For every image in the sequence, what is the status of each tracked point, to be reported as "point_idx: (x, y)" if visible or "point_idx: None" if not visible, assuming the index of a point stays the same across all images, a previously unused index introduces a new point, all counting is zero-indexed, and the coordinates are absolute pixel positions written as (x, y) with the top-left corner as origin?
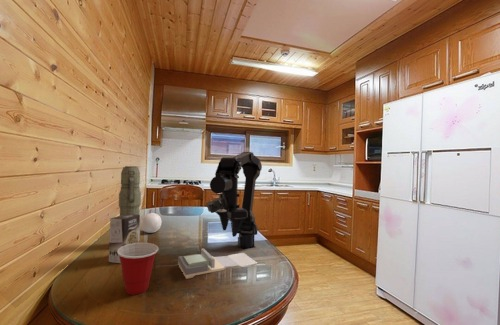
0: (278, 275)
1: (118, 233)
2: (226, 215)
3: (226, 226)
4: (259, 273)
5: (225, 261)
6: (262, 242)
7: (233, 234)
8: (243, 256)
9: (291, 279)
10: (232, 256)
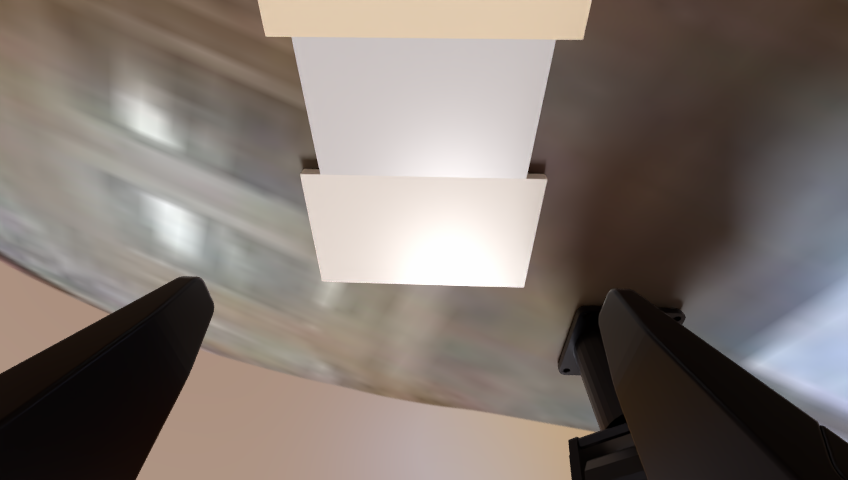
0: None
1: None
2: None
3: (616, 380)
4: (202, 230)
5: (413, 106)
6: None
7: (150, 301)
8: (460, 261)
9: None
10: (501, 201)
